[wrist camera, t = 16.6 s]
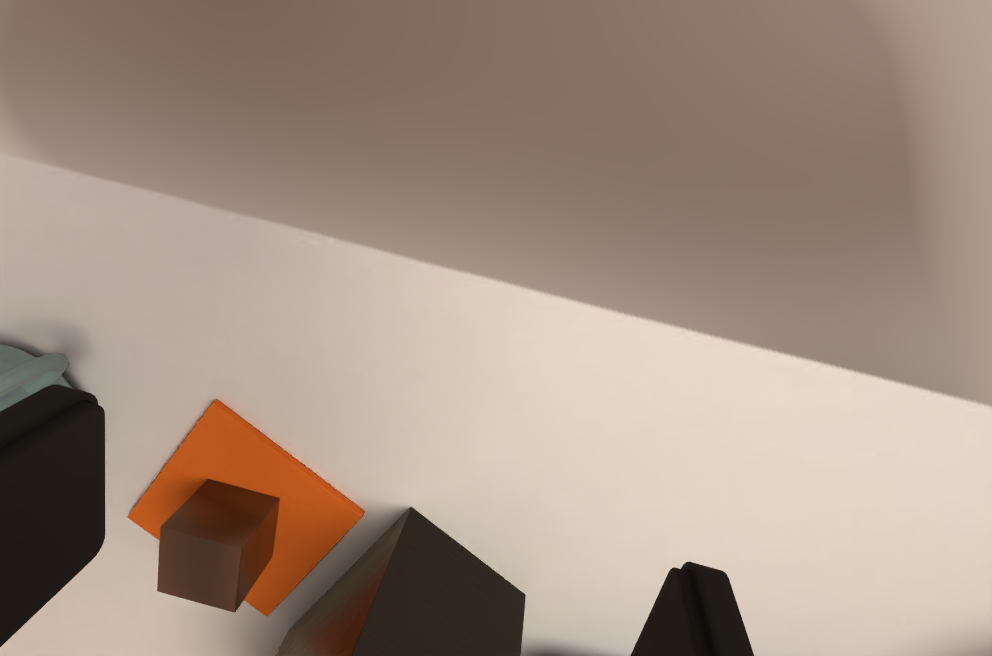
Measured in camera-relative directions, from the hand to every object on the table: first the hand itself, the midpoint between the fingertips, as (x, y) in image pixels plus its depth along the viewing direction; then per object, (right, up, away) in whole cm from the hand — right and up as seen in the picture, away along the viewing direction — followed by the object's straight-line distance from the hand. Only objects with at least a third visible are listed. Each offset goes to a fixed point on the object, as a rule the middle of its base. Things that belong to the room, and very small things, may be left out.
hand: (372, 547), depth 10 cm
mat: (-15, -9, +31) cm, 36 cm away
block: (-15, -9, +31) cm, 36 cm away
